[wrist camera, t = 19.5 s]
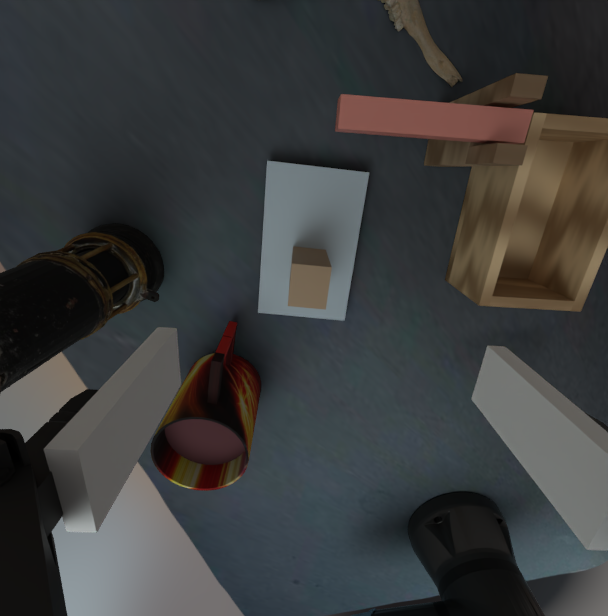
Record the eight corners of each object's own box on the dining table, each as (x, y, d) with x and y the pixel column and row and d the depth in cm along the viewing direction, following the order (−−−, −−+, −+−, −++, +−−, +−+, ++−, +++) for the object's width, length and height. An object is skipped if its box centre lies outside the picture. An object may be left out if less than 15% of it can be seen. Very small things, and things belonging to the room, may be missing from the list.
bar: (507, 144, 25) (524, 143, 23) (335, 131, 25) (337, 128, 23) (515, 114, 24) (533, 109, 23) (337, 99, 24) (341, 94, 22)
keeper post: (442, 166, 35) (522, 165, 22) (423, 165, 34) (492, 163, 22) (454, 111, 33) (548, 75, 20) (434, 109, 33) (515, 73, 20)
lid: (342, 313, 41) (353, 350, 32) (260, 305, 40) (249, 341, 32) (365, 172, 35) (386, 173, 26) (268, 161, 34) (259, 158, 26)
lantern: (177, 289, 39) (-116, 578, 12) (107, 310, 40) (-321, 626, 12) (140, 212, 36) (-397, 360, 8) (65, 237, 37) (-651, 448, 9)
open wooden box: (528, 284, 40) (580, 311, 32) (444, 279, 39) (478, 305, 32) (579, 132, 34) (658, 122, 26) (481, 125, 33) (534, 112, 26)
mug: (237, 315, 41) (215, 369, 30) (270, 405, 46) (261, 480, 35) (163, 333, 41) (113, 393, 30) (203, 419, 47) (173, 498, 35)
